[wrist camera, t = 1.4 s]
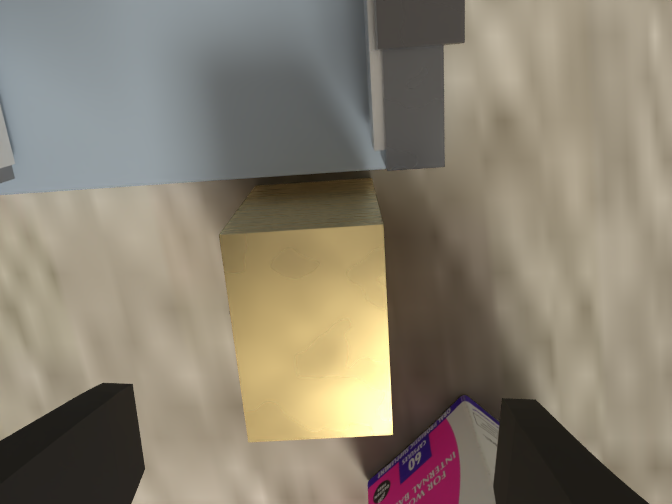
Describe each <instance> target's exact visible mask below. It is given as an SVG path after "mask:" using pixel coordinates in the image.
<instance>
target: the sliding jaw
mask: <svg viewBox="0 0 672 504" xmlns="http://www.w3.org/2000/svg"><path fill="white" fill-rule="evenodd" d="M363 3H364V23H365V43H366V63H367V82H368V102H369V122H370V141H371V143H372V146H373V149H374V151H379V150H380V155H381V157H382V160H383V162H384V164H385V167H386V169H387V171H391V170H406V169H421V168H435V167H445V156H444V52H443V45H450V44H460V43H465V0H363Z"/></svg>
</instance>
